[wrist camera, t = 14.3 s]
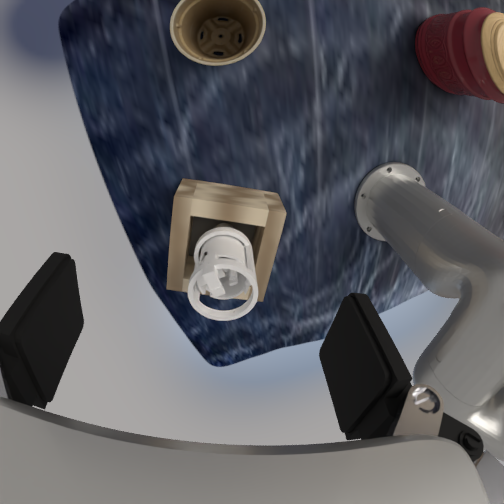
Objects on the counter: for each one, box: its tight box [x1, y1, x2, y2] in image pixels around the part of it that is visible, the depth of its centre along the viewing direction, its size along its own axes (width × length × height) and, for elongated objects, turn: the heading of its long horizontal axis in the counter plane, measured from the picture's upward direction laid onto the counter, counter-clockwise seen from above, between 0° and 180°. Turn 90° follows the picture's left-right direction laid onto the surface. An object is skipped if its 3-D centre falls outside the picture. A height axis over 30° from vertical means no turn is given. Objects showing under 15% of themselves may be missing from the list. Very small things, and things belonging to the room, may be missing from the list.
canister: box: [415, 7, 504, 104], centre depth 24 cm, size 13×13×18 cm
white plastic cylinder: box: [188, 223, 258, 321], centre depth 36 cm, size 7×7×15 cm
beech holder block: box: [167, 179, 287, 302], centre depth 41 cm, size 13×13×7 cm
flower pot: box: [170, 0, 266, 66], centre depth 27 cm, size 9×9×9 cm
